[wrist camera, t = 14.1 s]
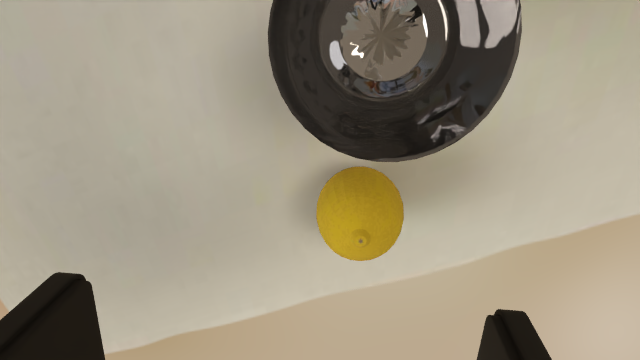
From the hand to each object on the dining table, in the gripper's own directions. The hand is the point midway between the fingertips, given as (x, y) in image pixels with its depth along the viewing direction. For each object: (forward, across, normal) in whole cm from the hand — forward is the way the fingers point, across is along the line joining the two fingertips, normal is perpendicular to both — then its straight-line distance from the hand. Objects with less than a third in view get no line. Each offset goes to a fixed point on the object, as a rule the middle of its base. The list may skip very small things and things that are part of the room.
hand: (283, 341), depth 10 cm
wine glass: (+22, -2, -6) cm, 23 cm away
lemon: (+21, -2, +5) cm, 22 cm away
